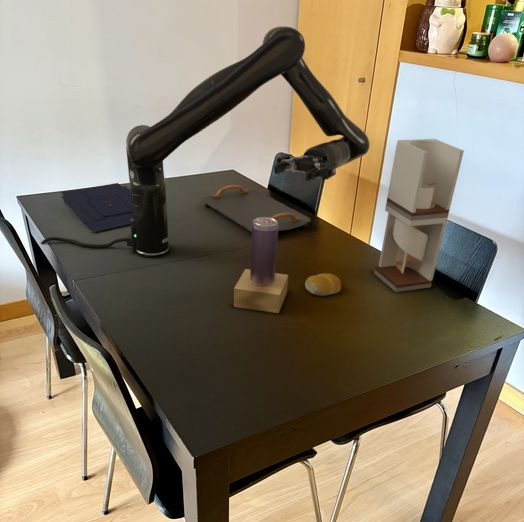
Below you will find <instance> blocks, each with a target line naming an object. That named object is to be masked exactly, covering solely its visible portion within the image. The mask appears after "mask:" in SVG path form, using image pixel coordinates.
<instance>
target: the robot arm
mask: <svg viewBox="0 0 524 522" xmlns="http://www.w3.org/2000/svg"><path fill="white" fill-rule="evenodd" d="M305 51H306V42H305V38H304V36H303V34H302V33H301V32H300V31H299V30H298V29H296V28H294V27H292V26H287V25H285V26H276V27H273V28H271V29H270V30H268V31H267V32H266V34H265V35H264V37H263V40H262V44H261V45H260V46H259V47H258V48H256V49H255V50H254V51H253V52H252V53H250V54H249V55H248V56H246V57H245V58H243V59H240V60H239V61H237V62H235V63H232V64H230V65H228V66H226V67H224V68H222V69H220V70H218V71H217V72H215V73H213V74H211V75H210V76H208V78H206V79H204V80H203V81H201V82H200V83H199V84H197V85H196V86H194V87H193V88H192V89H191V90H190V91H189V92H188V93H187V94H186V95H185V96H184V97H183V98H182V100H181V101H180V102H179V104H177V105H176V106H175V108H174V109H173V110H172V111H171V112H170V113H169V114H168V115H166V116H165V117H164V118H162V119H161V120H159V121H158V122H156V123H155V124H153V125H151V126H150V125H146V124H140V125H136V126H134V127H132V128H131V129H130V130H129V131H128V133H127V135H126V139H125V152H126V159H127V160H126V162H127V173H128V180H129V189H130V190H131V200H132V211H133V218H132V219H131V221H130V223H131V224H130V234H129V235H128V236H127V237H121V238H117V239H114V240H111V241H110V242H108V243H102V244H95V243H94V244H93V243H87V242H82V241H78V240H76V239H72V238H66V237H59V236H49V237H46V238H45V239H43V240H42V241H41V242H40V245H45V244H47V243H48V242H53V241H58V242H64V243H71V244H74V245H77V246H80V247H83V248H84V247H85V248H92V249H104V248H110V247H112V246H113V245H115V244H117V243H123V242H126V247H132V252H133V253H135V254H137V255H139V256H142V257H145V258H156V257H162V256H166V255H168V253H169V251H170V244H169V227H168V226H169V224H168V209H167V206H168V205H167V189H166V188H167V187H166V178H165V170H164V161H165V160H166V159H167V158H168V157H169V156H170V155H171V154H172V153H173V152H175V151H176V150H177V149H178V148H180V146H181V145H183V144H184V143H185V142H186V141H189V139H191V138H192V137H194V136H196V135H198V134H199V133H200V132H203V130H205V129H207V128H208V127H209V126H211V125H212V124H214V123H216V122H217V121H218V120H219V119H222V118H223V117H224V116H225V115H227V114H228V113H229V112H231V111H232V110H234V109H235V108H236V107H237V106H239V105H240V104H241V103H242V102H244V101H245V100H246V99H247V98H249V97H250V96H251V95H253V94H254V93H255V92H256V91H257V90H259V88H261V87H263V86H264V85H266V84H267V83H269V82H270V81H272V80H274V79H275V78H277V77H278V76H281V77H282V78H283V79H284V80H285V81H286V82H287V83H288V84H289V86H290V87H291V89H292V90H293V91H294V92H295V93H296V95H297V96H298V97H299V99H300V100H301V102H302V103H303V105H304V106H305V108H306V110H307V111H308V112H309V114H310V115H311V116H312V118H313V119H314V121H315V123H316V124H317V125H318V127H319V128H320V129H321V131H322V133H323V134H324V135H325V136H326V137H335V136H342V137H339V138H338V139H336V138H335V139H332V140H330V141H325V142H321V143H319V144H317V145H314V146H312V147H309V148H307V149H306V150H305V151H304V153H303V154H302V155H300V156H293V154H291V153H288V154H285V155H282V156H278V157H277V158H276V163H275V164H274V167H273V171H274V174H276V175H279V174H281V173H284V172H291V173H301V174H305V181H307V182H310V181H312V180H315V179H317V180H319V179H321V178H322V179H323V180H324V181H326V180H329V179H331V178H332V177H334V176H335V175H336V174H337V169H338V168H340V167H342V166H345V165H347V164H349V163H351V162H353V161H356V160H357V159H359V158H362V157H364V156H365V155H366V154H367V153H368V152H369V151H370V144H371V143H370V139H369V137H368V135H367V134H366V132H365V131H363V130H362V129H361V128H360V127H359V126H358V125H357V124H356V123H354V122H353V121H352V120H351V119H350V118H349V117H348V116H346V114H345V113H344V111H343V110H342V109H341V107H340V106H339V104H338V103H337V101H336V99H335V98H334V97H333V95H332V94H331V93H330V92H329V91H328V89H327V88H326V87H325V86H324V85H323V84H322V83H321V82H320V81H319V80H318V78H317V77H316V76H315V74H313V72H312V71H311V70H310V68H309V66H308V64H307V63H306V62H305V59H304V58H303V57H304V55H305Z"/></svg>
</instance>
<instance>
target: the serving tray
mask: <svg viewBox="0 0 524 522" xmlns="http://www.w3.org/2000/svg"><path fill="white" fill-rule="evenodd" d="M230 190H231V191H230ZM232 190H233V191H232ZM201 202H202V203H204V206H205V208H207V209H208V208H209V209H210V208H212V209H213V210H215V211H217V212H218V213H220V214H222V215H223V216H224V217H226V218H228V219H230V220H231V221H233V222H235V223H236V224H237V225H238V226H241V227H243V228H244V229H246V230H247V231H249V232H251V233H252V224H253V220H254V219H256V218H259V217H269V218H273V219H275V220H277V222H278V232H283V231H289V230H293V229H297V228H300V227H301V229H302V230H305V229H307V227H308V224H309V223H310V222H311V218H310V217H309V216H306V215H305V214H303V213H301V212H299V211H297V210H295V209H294V208H291V207H289V206H287V205H286V204H285V203H282V202H281V201H278V200H275V199H274V198H273V197H270V196H269V195H267V194H264V193H263V192H261V191H258V190H248V189H244V188H243V187H242V186H241V185H239V184H231V185H225V186H223V187H221V188H220V189H218V191H217V192H216V193H215V194H211V195H209V196H206V197H203V198H202V199H201Z"/></svg>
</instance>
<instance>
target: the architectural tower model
mask: <svg viewBox="0 0 524 522" xmlns="http://www.w3.org/2000/svg"><path fill="white" fill-rule="evenodd" d="M464 152H465V150H463V149H461V148H459V147H456V146H454V145H452V144H449V143H446V142H444V141H441V140H438V139H436V138H424V139H423V138H421V139H401V140H400V139H399V140H398V139H397V141H396V145H395V151H394V157H393V162H392V169H391V175H390V181H389V185H388V192H387V197H386V203H385V208H384V211H385V212H387V213H388V214H387V218H386V224H385V225H386V226H385V230H384V235H383V239H382V248H381V251H380V257H379V263H378V265H375V266H374V271H373V274H374V275H375V276H376V277H377V278H378V279H380V280H381V281H382V282H383V283H384V284H386V285H387V286H388V287H389V288H390V289H392V290H393V292H395V293H400V292H407V291H408V292H409V291H414V290H421V289H429V288H431V287H432V284H433V279H434V275H435V271H436V267H437V263H438V258H439V254H440V252H441V251H440V250H441V246H442V242H443V239H444V234H445V231H446V227H447V223H448V218H449V213H450V210H451V205H452V202H453V198H454V193H455V188H456V184H457V180H458V176H459V172H460V168H461V164H462V160H463V156H464Z"/></svg>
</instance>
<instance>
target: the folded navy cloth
mask: <svg viewBox="0 0 524 522" xmlns="http://www.w3.org/2000/svg"><path fill="white" fill-rule="evenodd" d="M60 193H61V194H62V195H61V196H60V198H62V201H63V202H64V204H65V205H66V206H67V207H68V208H69V209H70V210H71V211H73V213H74V214H75V215H76V216H77V217H78V218H79V219H80V220H81V221H82V222H83V223H84V224H85V225H86V227H87V228H89V229H90V230H91V231H92V232H93V233H97V232H100V231H105V230H109V229H110V230H111V229H114V228H118V227H123V226H127V225H131V223H130V221H131V219H132V218H133V211H132V200H131V190H130V187H128V186H127V185H123V186H122V185H121V184H120V183H119V182H114V183H109V184H108V183H107V184H103V185H102V184H101V185H96V186H91V187H85V188H83V187H82V188H77V189H71V190H64V191H60Z"/></svg>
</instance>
